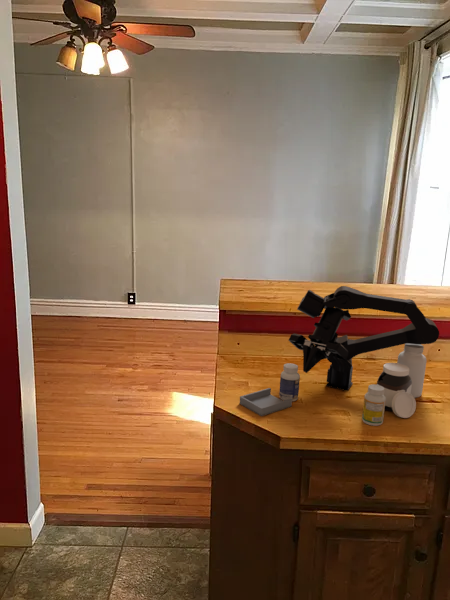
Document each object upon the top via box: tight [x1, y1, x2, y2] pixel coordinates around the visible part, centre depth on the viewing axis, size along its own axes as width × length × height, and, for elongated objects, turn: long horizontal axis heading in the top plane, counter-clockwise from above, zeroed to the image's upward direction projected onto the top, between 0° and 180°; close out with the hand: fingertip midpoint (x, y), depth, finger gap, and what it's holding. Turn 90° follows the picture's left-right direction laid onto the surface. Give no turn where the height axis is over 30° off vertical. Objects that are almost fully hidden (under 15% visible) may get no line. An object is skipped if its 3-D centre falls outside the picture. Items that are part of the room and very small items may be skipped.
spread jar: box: [376, 362, 417, 419], centre depth 147 cm, size 12×11×12 cm
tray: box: [239, 387, 293, 417], centre depth 147 cm, size 11×9×2 cm
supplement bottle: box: [361, 383, 386, 427], centre depth 139 cm, size 5×5×10 cm
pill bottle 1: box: [278, 362, 301, 402], centre depth 151 cm, size 5×5×10 cm
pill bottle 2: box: [396, 344, 427, 399], centre depth 158 cm, size 8×8×15 cm
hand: (305, 372), depth 154 cm, fingers closed
